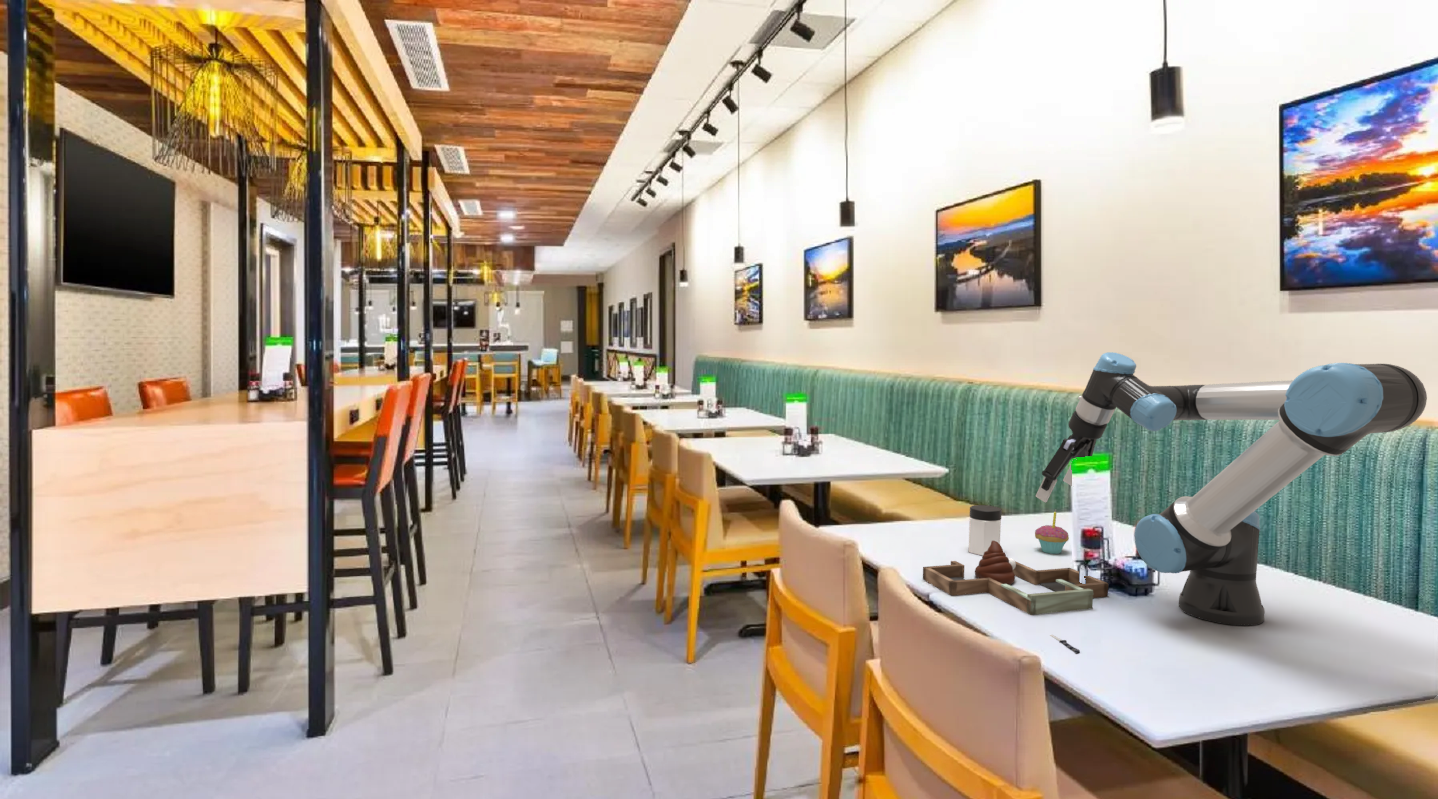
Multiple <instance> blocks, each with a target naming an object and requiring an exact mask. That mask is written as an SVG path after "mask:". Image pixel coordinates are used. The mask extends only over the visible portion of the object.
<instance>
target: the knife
mask: <svg viewBox="0 0 1438 799" xmlns="http://www.w3.org/2000/svg"><path fill="white" fill-rule="evenodd" d="M1049 636H1050V637H1051V638H1054V640H1056V641H1058V642H1059V643H1060V644H1062V645H1063V646H1064V647H1066V648H1067V649H1068V650H1070V651H1072V652H1073V653H1075V654H1080V649H1078V648H1077V647H1074V646H1073V645H1071V644H1069V642H1067V639H1066V640H1065V639H1061V638H1059V637H1058V636H1056V635H1054V634H1050V635H1049Z"/></svg>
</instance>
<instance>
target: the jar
mask: <svg viewBox="0 0 1438 799" xmlns="http://www.w3.org/2000/svg"><path fill="white" fill-rule="evenodd" d="M1002 511H1003V510H1002V508H1000V507H999V506H998V507H997V506H994V505H984V504H976V505H975V504H974V505H971V506H970V507H969V528H968V530H969V531H968V553H971V554H974V555H978V556H981V557H982V556H983V555H984V552H986V551H987V550H988V548H989V547H990V545H991V542H992V541H996V542H998V543H999V544H1000V545H1001V530H1002V529H1001V527H1002V526H1001V525H1002V514H1003V513H1002Z"/></svg>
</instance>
